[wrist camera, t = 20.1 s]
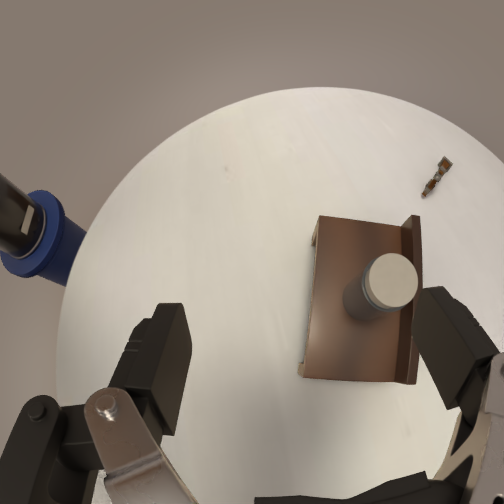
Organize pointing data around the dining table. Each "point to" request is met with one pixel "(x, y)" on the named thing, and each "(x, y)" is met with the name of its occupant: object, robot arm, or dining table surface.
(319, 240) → the shelf
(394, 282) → the salt shaker
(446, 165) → the brown slender grey-tipped part
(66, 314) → the dining table surface
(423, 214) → the dining table surface
